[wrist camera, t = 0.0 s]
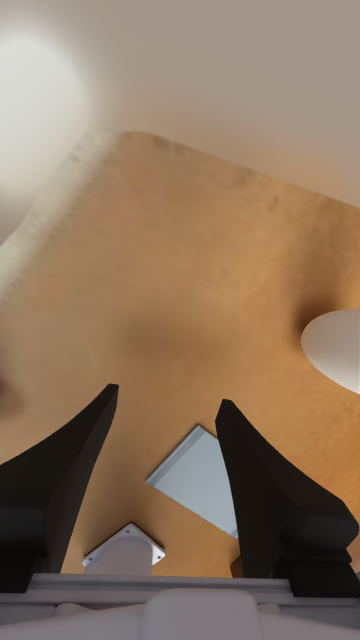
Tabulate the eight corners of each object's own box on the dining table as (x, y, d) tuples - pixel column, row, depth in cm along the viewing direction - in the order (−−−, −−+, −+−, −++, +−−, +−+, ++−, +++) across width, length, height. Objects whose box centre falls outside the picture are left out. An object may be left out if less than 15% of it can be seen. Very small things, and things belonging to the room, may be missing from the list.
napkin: (235, 536, 29) (236, 539, 29) (145, 479, 26) (145, 482, 26) (284, 488, 28) (286, 490, 28) (197, 424, 25) (198, 425, 25)
